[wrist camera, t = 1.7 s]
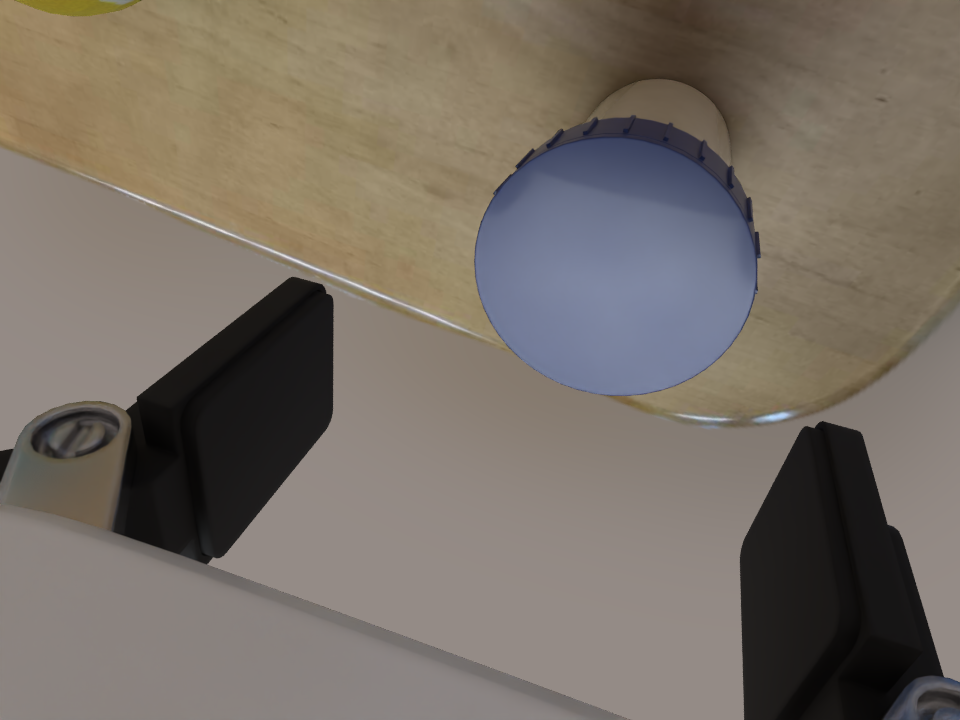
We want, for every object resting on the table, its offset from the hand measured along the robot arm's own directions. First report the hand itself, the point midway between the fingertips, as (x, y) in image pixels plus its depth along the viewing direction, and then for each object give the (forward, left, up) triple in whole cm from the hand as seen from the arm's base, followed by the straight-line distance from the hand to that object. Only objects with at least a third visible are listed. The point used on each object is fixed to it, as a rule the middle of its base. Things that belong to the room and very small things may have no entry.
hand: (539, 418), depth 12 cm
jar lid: (0, 0, -6) cm, 6 cm away
